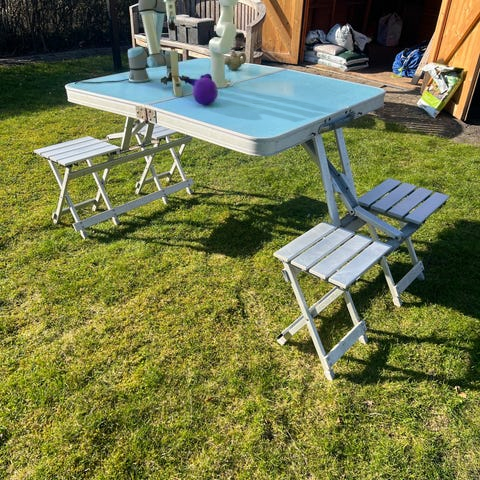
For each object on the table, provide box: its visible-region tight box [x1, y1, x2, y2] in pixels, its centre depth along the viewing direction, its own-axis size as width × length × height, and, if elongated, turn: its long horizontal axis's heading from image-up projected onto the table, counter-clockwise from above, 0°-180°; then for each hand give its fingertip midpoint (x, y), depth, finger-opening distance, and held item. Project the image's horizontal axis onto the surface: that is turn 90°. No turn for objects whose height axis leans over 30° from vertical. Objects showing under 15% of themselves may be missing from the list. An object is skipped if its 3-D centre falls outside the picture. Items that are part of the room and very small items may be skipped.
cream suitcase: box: [171, 77, 183, 98], centre depth 298 cm, size 17×5×9 cm, turn 12°
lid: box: [169, 46, 180, 77], centre depth 298 cm, size 18×5×8 cm
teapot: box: [224, 50, 247, 71], centre depth 368 cm, size 21×12×15 cm, turn 120°
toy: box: [182, 73, 219, 106], centre depth 272 cm, size 16×18×27 cm
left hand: (176, 82), depth 302 cm, fingers open, 13 cm apart
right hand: (172, 29), depth 282 cm, fingers open, 9 cm apart
